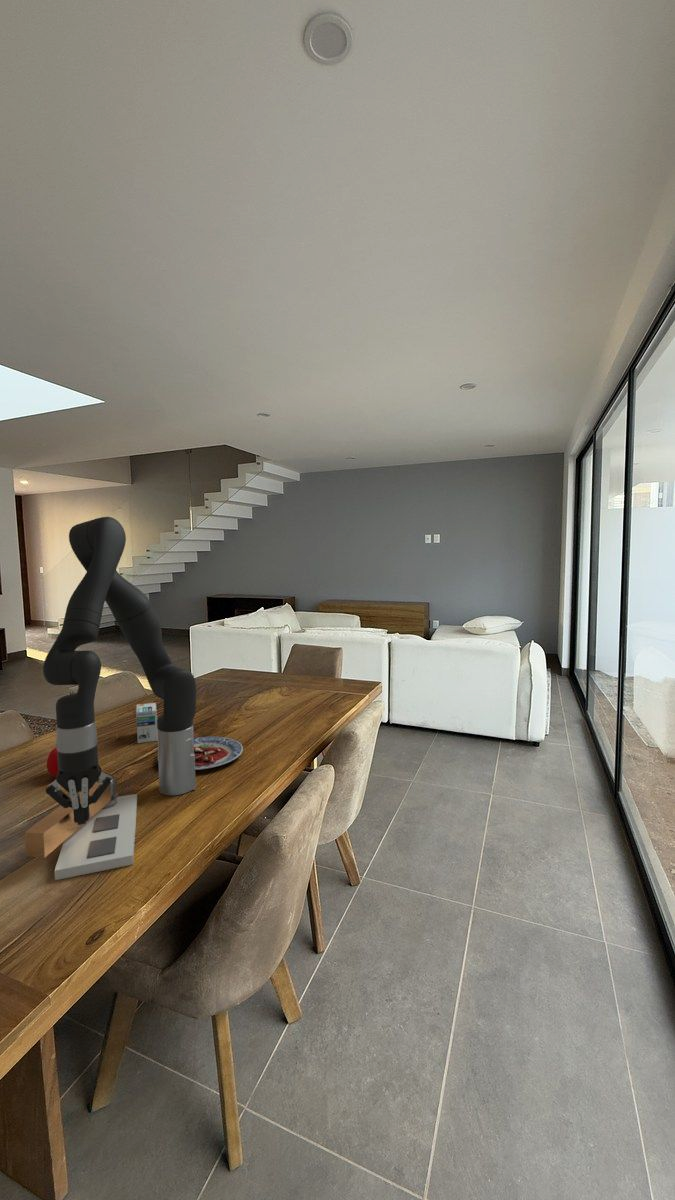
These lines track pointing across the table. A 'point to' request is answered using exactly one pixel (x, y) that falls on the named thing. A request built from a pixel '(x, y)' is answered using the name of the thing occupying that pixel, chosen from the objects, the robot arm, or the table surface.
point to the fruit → (53, 763)
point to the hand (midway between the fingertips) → (82, 822)
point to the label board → (101, 840)
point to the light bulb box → (146, 722)
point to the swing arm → (63, 823)
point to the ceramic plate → (215, 751)
